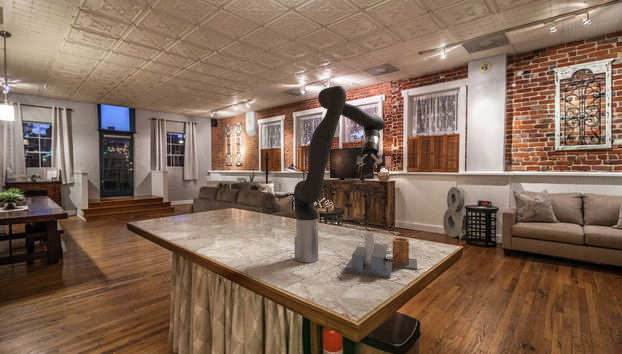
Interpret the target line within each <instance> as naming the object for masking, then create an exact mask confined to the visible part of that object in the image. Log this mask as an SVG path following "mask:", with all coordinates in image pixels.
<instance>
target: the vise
mask: <svg viewBox="0 0 622 354" xmlns="http://www.w3.org/2000/svg"><path fill="white" fill-rule="evenodd" d="M374 241H375V232H371V231H366V232H365V233H364V246H360V245H359V246H357V247H356V248H355V250H354V251H353V252H352V253H351V258H350V259H349V262H347V264H346V266H345V267H344V273H345V274H351V275H357V276H358V275H359V276H367V277H368V276H370V277H377V278H387V279H391V277H392V273H393V268H394V267H393V262H390V258H387V254H386V249H384V248H375V250H374ZM386 261H387V262H386Z"/></svg>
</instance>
